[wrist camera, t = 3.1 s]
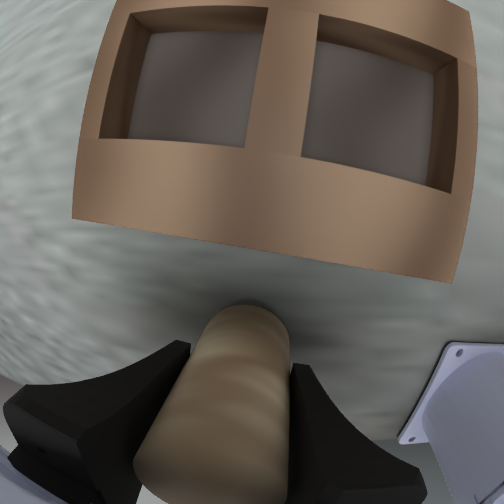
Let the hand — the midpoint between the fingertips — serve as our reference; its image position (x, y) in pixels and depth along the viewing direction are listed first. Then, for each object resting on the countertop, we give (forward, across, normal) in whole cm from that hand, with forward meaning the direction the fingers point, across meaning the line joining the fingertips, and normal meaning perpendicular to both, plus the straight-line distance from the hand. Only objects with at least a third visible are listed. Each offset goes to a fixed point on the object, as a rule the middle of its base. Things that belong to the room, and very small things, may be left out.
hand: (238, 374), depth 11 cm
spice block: (+3, 0, -11) cm, 12 cm away
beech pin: (+2, 0, 0) cm, 2 cm away
